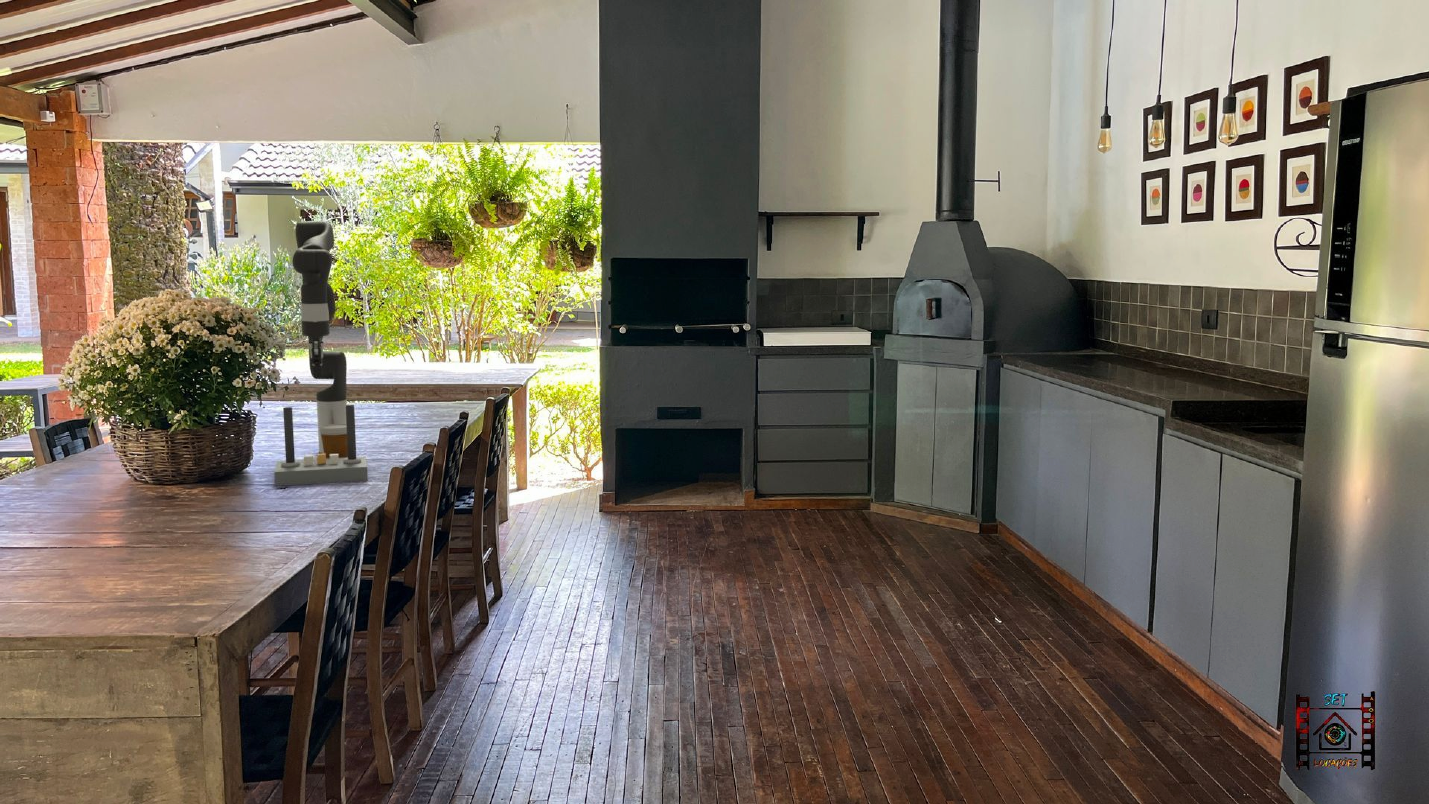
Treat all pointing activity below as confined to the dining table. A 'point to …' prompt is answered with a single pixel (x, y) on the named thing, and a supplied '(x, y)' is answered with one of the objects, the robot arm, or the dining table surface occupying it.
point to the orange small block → (321, 458)
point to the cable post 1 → (289, 439)
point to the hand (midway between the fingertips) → (317, 378)
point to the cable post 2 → (351, 436)
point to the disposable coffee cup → (334, 439)
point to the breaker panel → (320, 471)
